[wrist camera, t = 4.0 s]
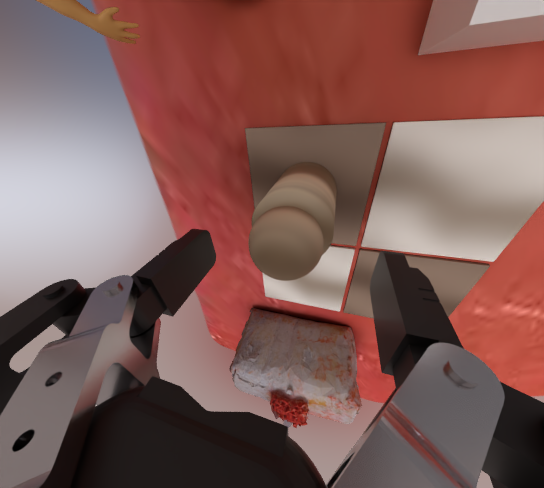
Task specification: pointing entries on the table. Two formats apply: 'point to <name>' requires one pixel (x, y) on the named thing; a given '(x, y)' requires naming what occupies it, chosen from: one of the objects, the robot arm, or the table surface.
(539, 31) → the die
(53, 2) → the figurine
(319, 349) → the food item
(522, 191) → the game mat
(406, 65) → the table surface
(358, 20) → the table surface
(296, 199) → the pawn
